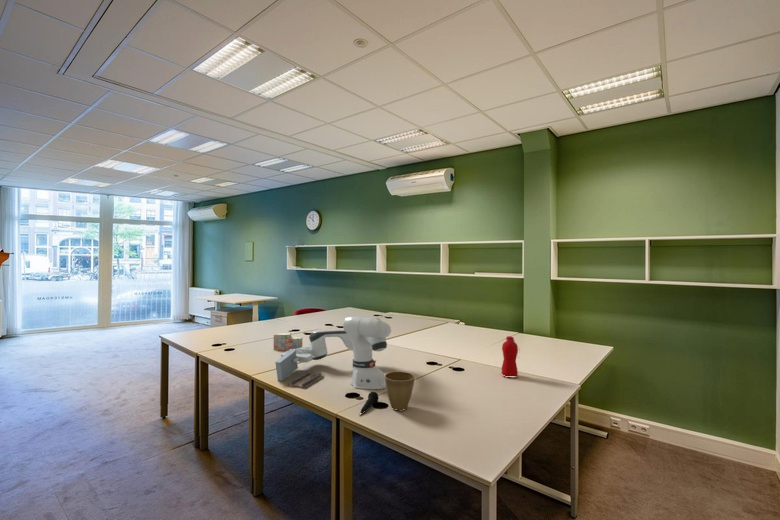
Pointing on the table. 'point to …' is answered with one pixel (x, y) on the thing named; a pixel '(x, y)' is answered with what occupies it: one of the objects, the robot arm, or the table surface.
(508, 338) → the water bottle
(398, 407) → the plant pot
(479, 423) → the table surface
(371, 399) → the microphone
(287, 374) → the tall grey rectangular block
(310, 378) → the track board
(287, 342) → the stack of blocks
